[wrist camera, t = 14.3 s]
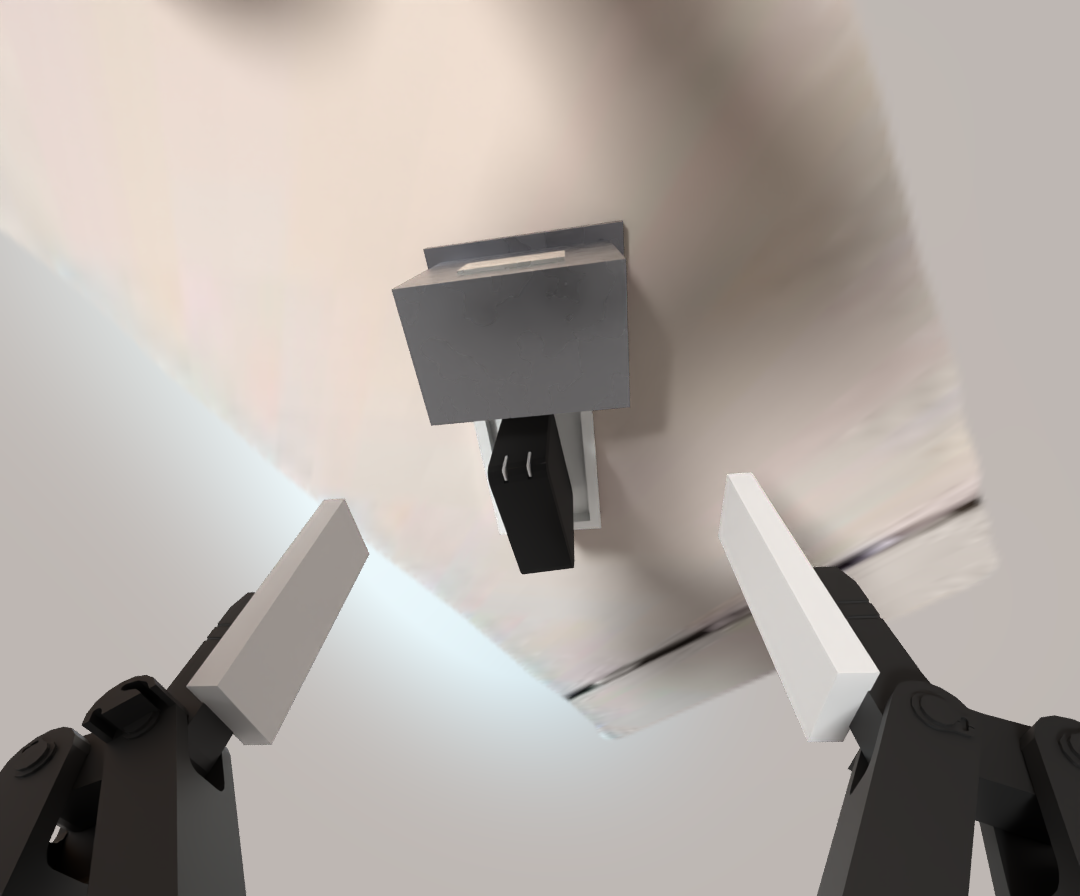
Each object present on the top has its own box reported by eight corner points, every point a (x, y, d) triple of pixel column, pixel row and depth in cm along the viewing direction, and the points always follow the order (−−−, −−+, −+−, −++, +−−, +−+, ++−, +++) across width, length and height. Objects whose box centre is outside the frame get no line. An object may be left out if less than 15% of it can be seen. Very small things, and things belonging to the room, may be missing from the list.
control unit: (426, 248, 31) (367, 271, 22) (621, 220, 30) (646, 233, 20) (457, 377, 36) (419, 441, 27) (625, 359, 35) (647, 420, 25)
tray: (469, 376, 36) (464, 384, 34) (588, 363, 35) (589, 371, 33) (502, 522, 44) (499, 534, 42) (600, 516, 43) (601, 528, 41)
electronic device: (531, 500, 42) (522, 580, 33) (503, 409, 37) (484, 475, 28) (573, 493, 41) (575, 573, 32) (551, 400, 36) (546, 464, 28)
